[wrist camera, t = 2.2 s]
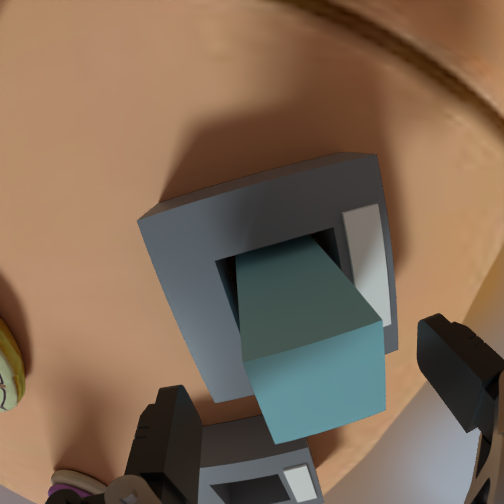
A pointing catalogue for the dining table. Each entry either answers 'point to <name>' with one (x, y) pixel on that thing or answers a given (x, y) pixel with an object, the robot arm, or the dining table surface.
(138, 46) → the dining table surface
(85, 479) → the stacking toy
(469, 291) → the dining table surface
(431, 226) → the dining table surface
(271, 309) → the plug
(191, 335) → the near socket block
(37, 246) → the dining table surface
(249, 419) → the far socket block
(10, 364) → the decorated donut
